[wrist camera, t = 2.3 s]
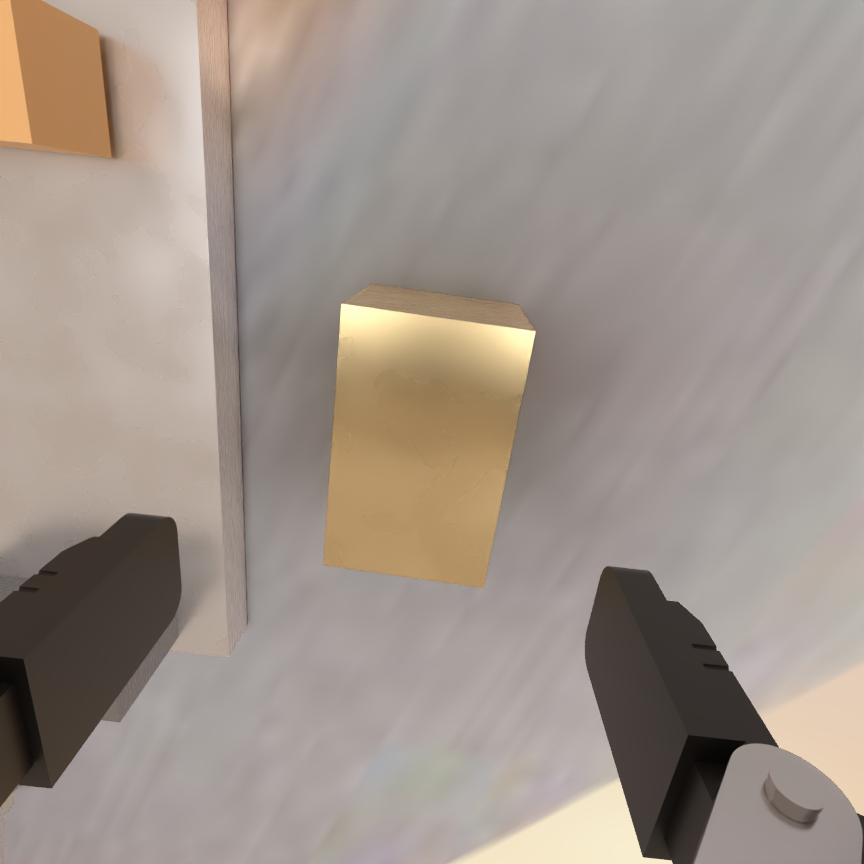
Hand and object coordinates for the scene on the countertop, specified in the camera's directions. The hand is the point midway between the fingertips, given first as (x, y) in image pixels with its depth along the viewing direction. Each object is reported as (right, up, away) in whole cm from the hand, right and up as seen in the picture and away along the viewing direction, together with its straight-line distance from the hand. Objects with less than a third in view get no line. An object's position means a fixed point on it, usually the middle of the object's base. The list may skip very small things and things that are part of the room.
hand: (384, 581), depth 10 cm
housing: (+1, +4, +10) cm, 11 cm away
